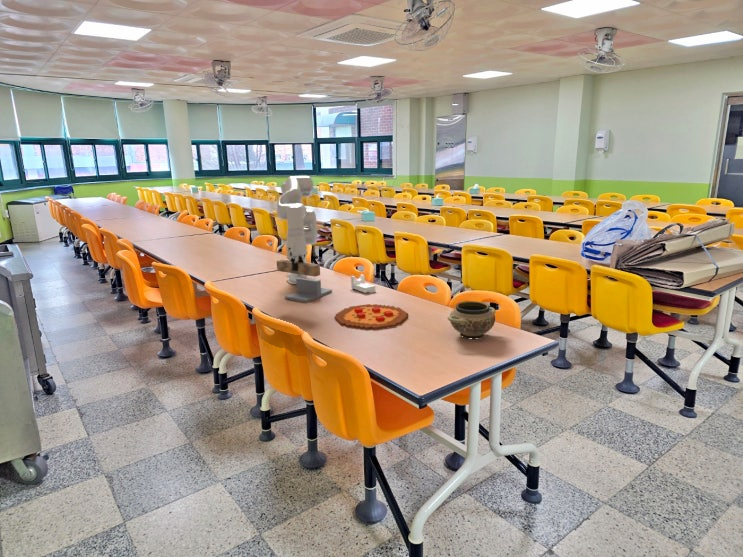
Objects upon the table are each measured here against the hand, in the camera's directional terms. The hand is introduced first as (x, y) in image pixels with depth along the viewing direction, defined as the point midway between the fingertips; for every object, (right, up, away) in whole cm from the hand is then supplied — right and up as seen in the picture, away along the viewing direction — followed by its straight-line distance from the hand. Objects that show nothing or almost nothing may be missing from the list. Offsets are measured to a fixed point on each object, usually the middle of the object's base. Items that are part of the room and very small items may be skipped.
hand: (298, 269), depth 234 cm
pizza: (+36, -23, -12) cm, 44 cm away
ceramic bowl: (+76, -28, -37) cm, 89 cm away
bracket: (+31, -11, +33) cm, 46 cm away
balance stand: (+2, -14, +24) cm, 28 cm away
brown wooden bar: (0, -2, 0) cm, 2 cm away
